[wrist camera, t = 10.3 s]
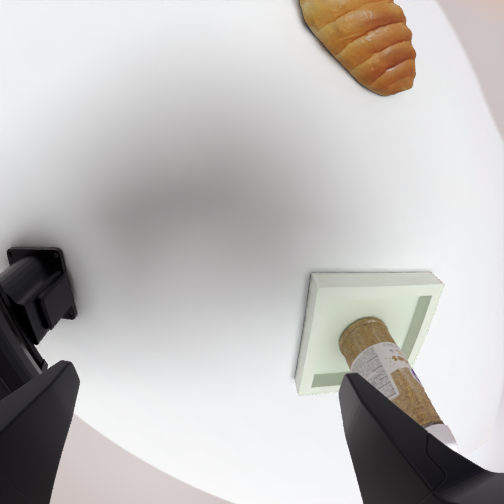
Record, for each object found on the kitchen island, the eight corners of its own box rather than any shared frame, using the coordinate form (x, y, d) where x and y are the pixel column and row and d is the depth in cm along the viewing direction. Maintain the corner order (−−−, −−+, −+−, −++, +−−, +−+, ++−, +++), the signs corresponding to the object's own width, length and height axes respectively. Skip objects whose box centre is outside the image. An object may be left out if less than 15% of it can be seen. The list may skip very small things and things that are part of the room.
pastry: (423, 80, 17) (453, 75, 13) (354, 111, 18) (377, 109, 14) (359, -24, 13) (378, -44, 10) (282, 0, 14) (290, -24, 11)
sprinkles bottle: (394, 329, 24) (467, 448, 11) (358, 363, 25) (410, 487, 13) (365, 306, 22) (445, 443, 10) (326, 344, 24) (375, 487, 11)
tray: (294, 378, 26) (298, 395, 24) (311, 272, 22) (318, 287, 20) (397, 367, 27) (405, 382, 24) (431, 272, 22) (444, 283, 20)
